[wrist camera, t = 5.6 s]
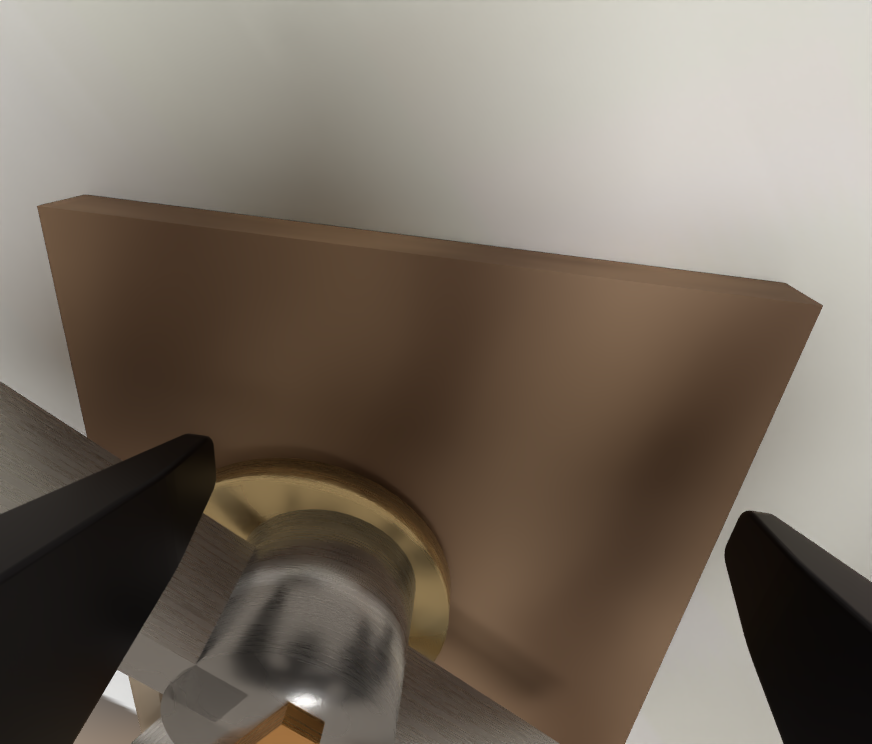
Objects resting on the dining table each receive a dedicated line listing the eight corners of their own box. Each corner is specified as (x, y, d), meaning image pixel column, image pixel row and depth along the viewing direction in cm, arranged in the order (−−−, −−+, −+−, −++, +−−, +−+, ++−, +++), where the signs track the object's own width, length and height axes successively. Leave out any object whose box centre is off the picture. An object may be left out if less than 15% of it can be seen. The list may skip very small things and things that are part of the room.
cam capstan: (83, 267, 11) (-184, 378, 7) (626, 663, 15) (687, 898, 11) (-75, 547, 16) (-305, 731, 11) (386, 800, 20) (356, 1012, 15)
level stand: (785, 283, 12) (870, 334, 10) (607, 715, 19) (627, 814, 17) (84, 194, 13) (-24, 219, 10) (165, 652, 20) (115, 738, 17)
